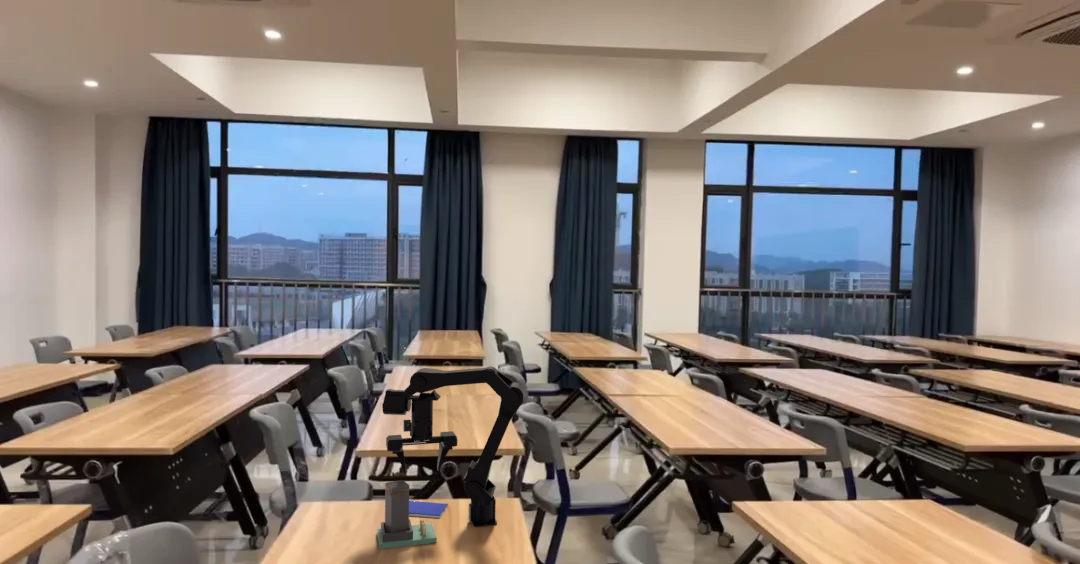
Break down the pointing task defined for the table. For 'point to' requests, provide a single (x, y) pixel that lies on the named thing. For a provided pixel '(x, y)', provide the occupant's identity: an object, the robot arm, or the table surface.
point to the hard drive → (426, 509)
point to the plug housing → (396, 506)
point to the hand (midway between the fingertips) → (421, 471)
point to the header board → (407, 536)
